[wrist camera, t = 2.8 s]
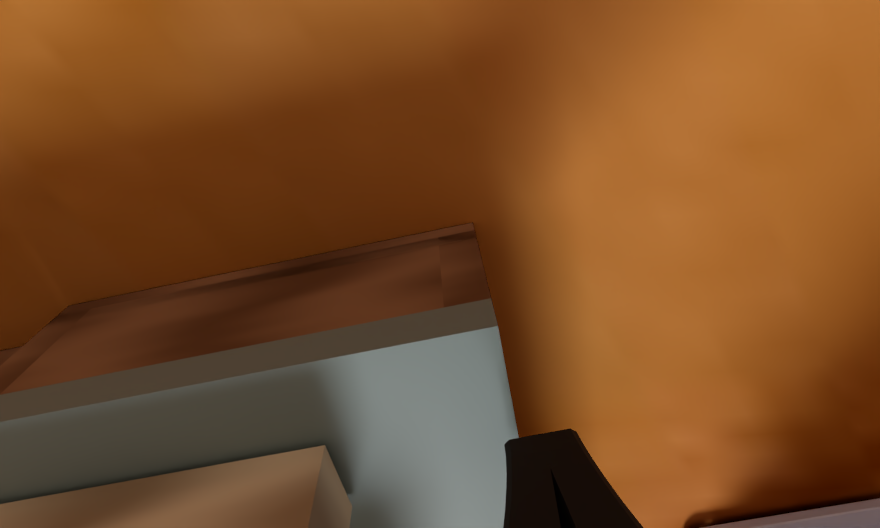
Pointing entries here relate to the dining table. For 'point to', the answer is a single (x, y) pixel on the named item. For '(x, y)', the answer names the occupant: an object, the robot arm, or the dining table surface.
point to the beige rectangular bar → (203, 498)
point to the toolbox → (252, 307)
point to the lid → (294, 418)
